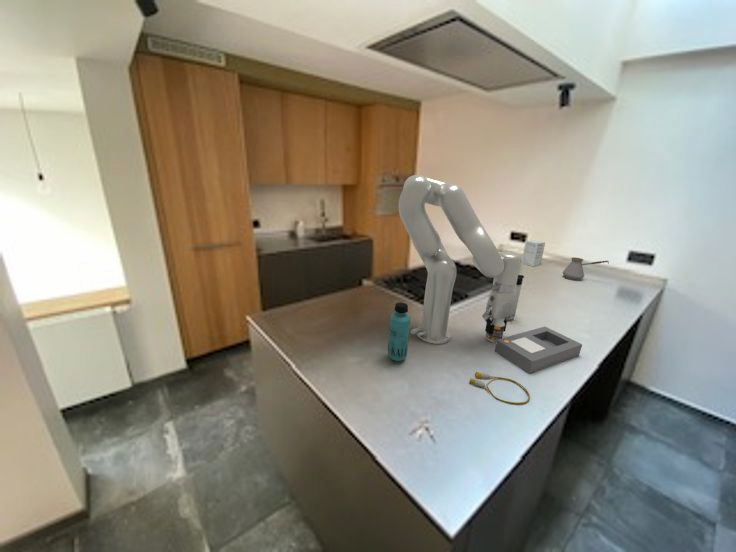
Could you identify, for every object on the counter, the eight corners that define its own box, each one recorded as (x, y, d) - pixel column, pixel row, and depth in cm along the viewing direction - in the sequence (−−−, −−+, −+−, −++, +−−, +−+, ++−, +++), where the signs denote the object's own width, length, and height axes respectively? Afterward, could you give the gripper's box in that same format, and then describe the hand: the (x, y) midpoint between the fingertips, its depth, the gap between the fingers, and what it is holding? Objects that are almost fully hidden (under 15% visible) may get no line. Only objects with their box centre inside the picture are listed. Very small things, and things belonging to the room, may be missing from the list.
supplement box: (540, 265, 217) (546, 242, 212) (533, 266, 213) (538, 243, 207) (528, 261, 225) (533, 239, 220) (520, 263, 221) (525, 240, 215)
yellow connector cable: (487, 368, 99) (488, 363, 98) (536, 396, 87) (538, 390, 86) (464, 382, 92) (465, 376, 91) (514, 414, 80) (516, 408, 79)
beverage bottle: (394, 351, 105) (398, 298, 99) (410, 359, 101) (416, 304, 95) (383, 359, 100) (386, 304, 94) (399, 367, 96) (404, 310, 90)
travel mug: (516, 322, 130) (526, 278, 123) (500, 320, 131) (509, 276, 125) (512, 316, 136) (522, 273, 129) (497, 314, 137) (505, 272, 130)
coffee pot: (559, 278, 191) (565, 254, 186) (564, 274, 199) (569, 252, 194) (600, 287, 177) (608, 262, 172) (603, 283, 185) (611, 259, 180)
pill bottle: (491, 344, 112) (496, 319, 109) (482, 336, 117) (486, 313, 114) (504, 342, 114) (509, 318, 110) (495, 334, 119) (499, 311, 116)
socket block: (529, 373, 96) (532, 360, 95) (494, 350, 108) (496, 338, 106) (578, 355, 107) (582, 343, 106) (542, 336, 119) (545, 325, 117)
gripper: (494, 293, 102) (485, 340, 108) (529, 287, 109) (519, 331, 115) (478, 286, 108) (470, 331, 114) (511, 280, 115) (503, 323, 121)
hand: (495, 331), depth 114 cm, fingers closed on pill bottle, 5 cm apart
